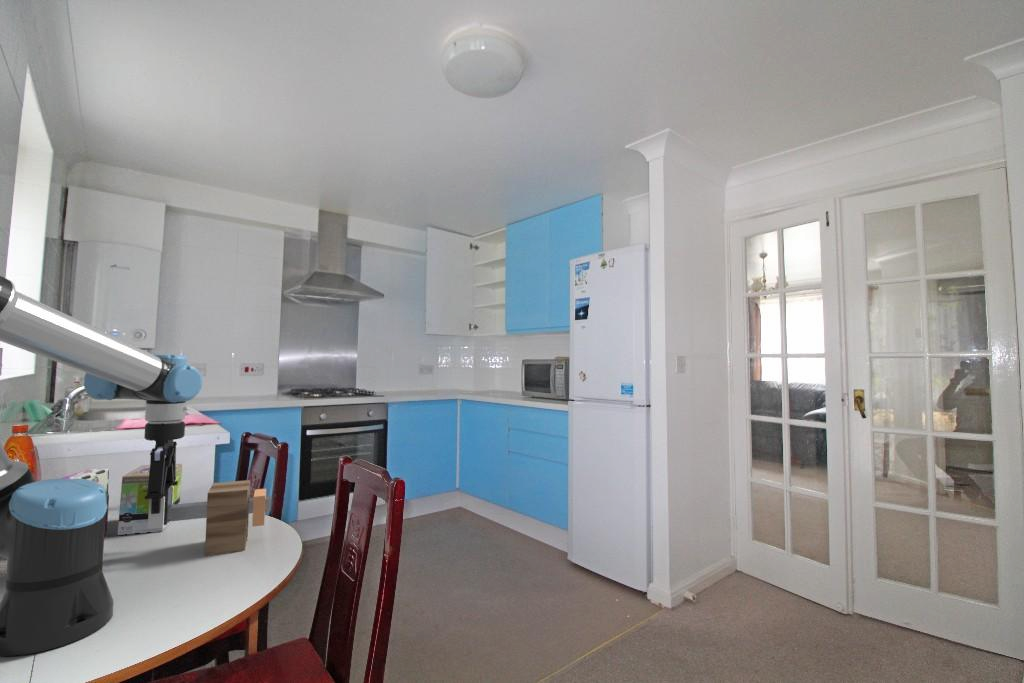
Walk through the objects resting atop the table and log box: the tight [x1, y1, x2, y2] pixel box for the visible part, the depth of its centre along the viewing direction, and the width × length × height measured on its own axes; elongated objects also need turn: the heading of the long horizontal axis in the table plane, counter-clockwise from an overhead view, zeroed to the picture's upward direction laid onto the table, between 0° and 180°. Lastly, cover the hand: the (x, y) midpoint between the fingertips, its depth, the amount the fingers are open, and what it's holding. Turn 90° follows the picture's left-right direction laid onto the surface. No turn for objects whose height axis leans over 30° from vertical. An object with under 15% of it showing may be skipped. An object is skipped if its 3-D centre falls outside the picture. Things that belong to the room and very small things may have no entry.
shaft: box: [154, 485, 272, 526], centre depth 115 cm, size 4×24×8 cm, turn 115°
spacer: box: [251, 488, 267, 527], centre depth 119 cm, size 7×2×7 cm, turn 25°
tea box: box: [117, 463, 183, 536], centre depth 129 cm, size 15×10×15 cm
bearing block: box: [204, 479, 251, 557], centre depth 116 cm, size 10×8×14 cm
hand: (160, 520), depth 110 cm, fingers open, 9 cm apart
